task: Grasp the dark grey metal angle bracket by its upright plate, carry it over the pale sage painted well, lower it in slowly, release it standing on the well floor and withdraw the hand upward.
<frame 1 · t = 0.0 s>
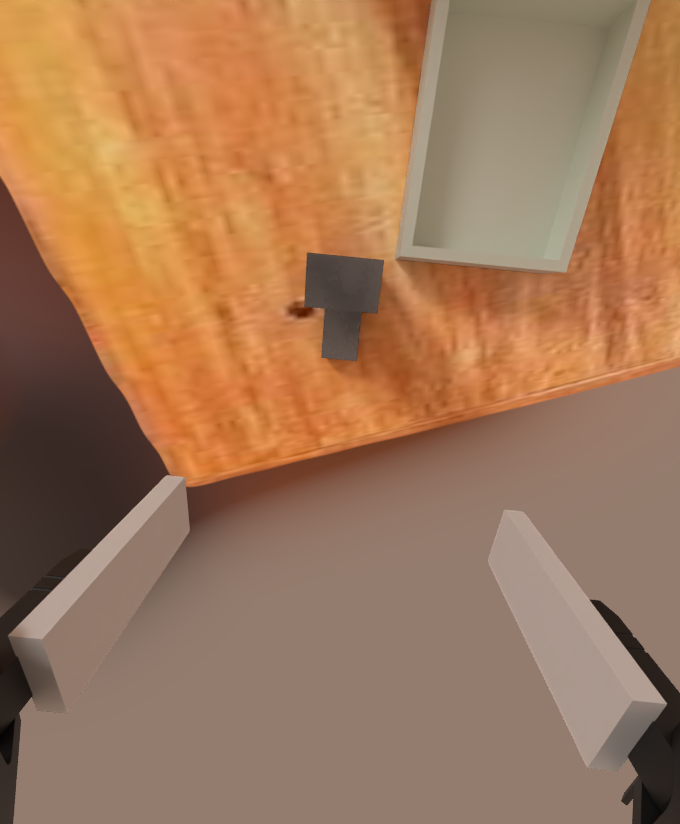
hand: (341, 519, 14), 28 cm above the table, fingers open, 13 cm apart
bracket: (346, 284, 37), on the table
well: (493, 153, 32), on the table
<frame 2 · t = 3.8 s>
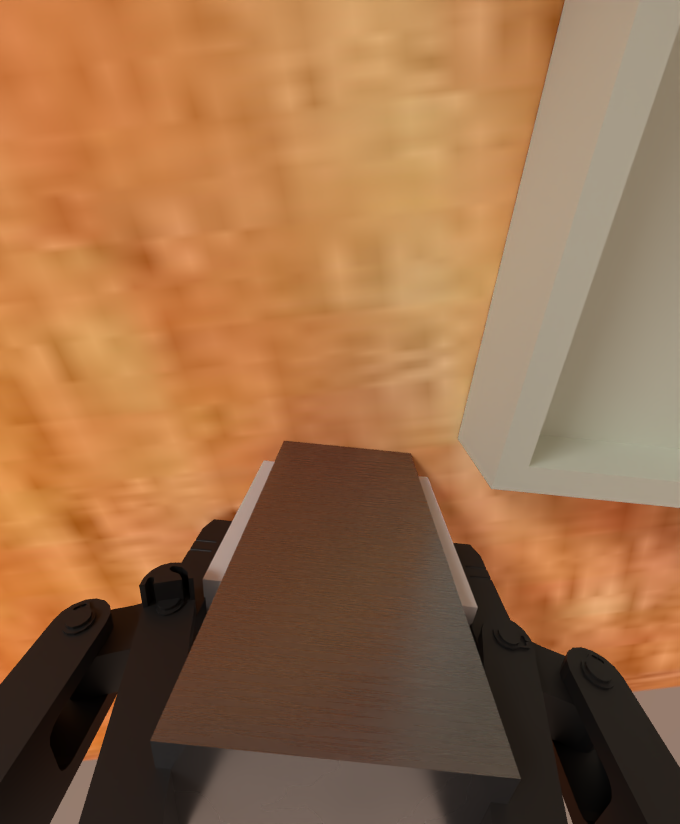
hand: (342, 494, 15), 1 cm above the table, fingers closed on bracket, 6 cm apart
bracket: (343, 483, 16), on the table, touching gripper
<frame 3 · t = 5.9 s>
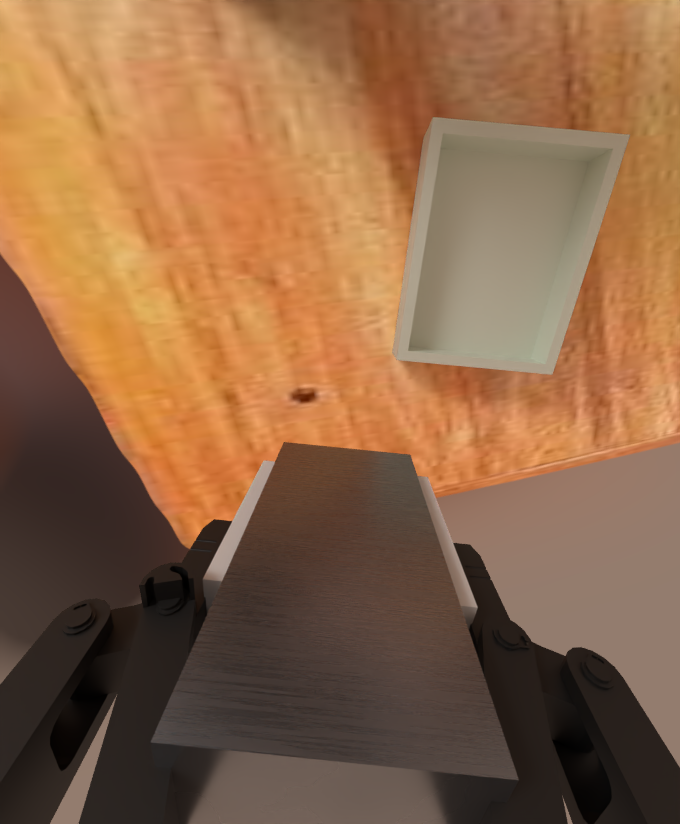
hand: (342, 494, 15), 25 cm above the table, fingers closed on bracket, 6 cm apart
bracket: (342, 484, 16), point 24 cm above the table, touching gripper
well: (483, 263, 34), on the table
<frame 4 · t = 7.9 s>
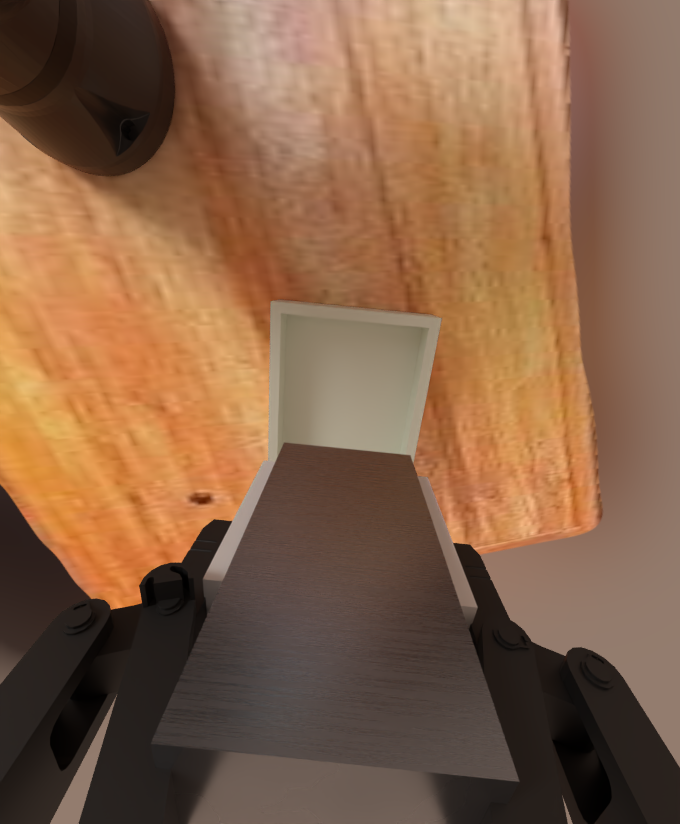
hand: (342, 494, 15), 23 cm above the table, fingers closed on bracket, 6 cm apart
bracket: (343, 484, 16), point 22 cm above the table, touching gripper
well: (346, 397, 38), on the table
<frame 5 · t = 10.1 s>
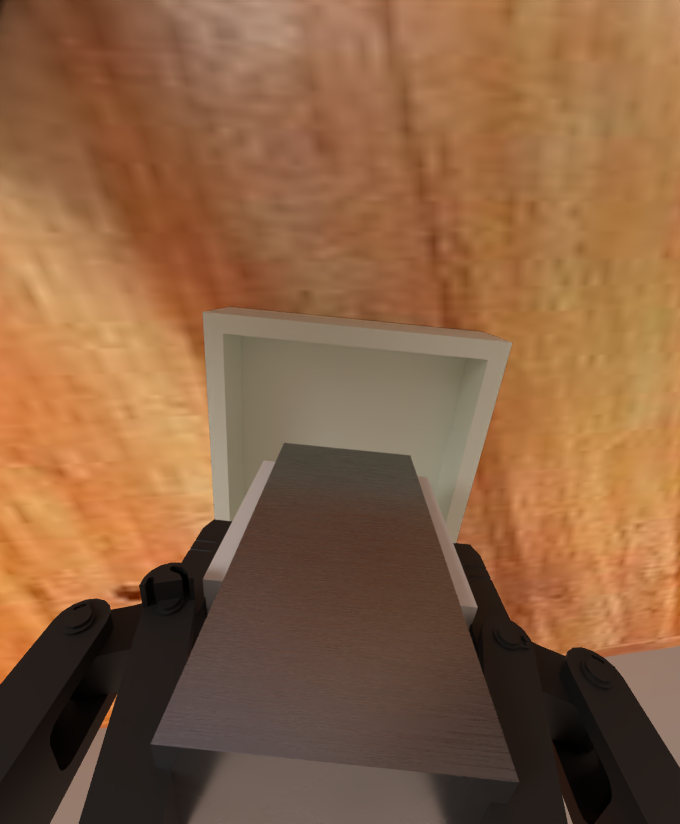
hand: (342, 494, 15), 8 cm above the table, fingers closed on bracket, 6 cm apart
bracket: (343, 484, 16), point 8 cm above the table, touching gripper
well: (341, 458, 24), on the table
when the fingers open (4 cm above the table, at t = 11.9 s): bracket drops 2 cm, resting on well.
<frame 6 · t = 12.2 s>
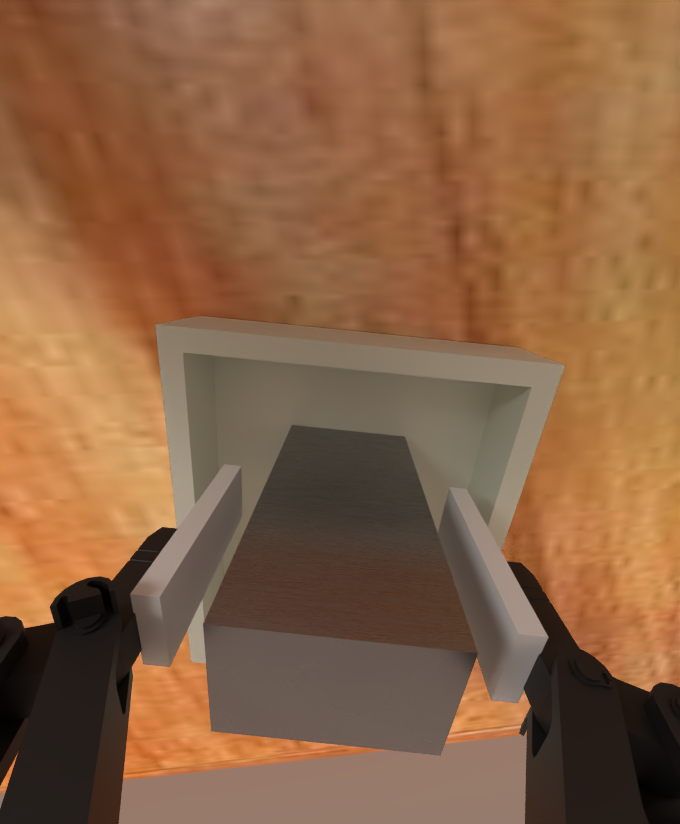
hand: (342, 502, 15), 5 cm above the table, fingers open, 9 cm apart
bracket: (344, 463, 18), point 1 cm above the table, touching well
well: (340, 497, 20), on the table
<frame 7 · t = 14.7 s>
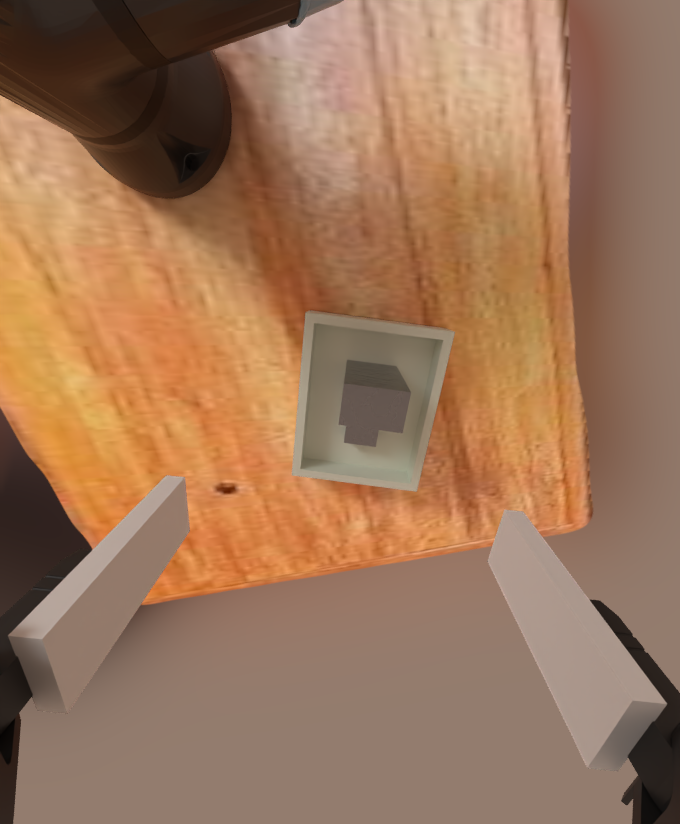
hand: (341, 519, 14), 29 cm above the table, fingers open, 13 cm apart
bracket: (369, 378, 40), point 1 cm above the table, touching well
well: (365, 399, 42), on the table
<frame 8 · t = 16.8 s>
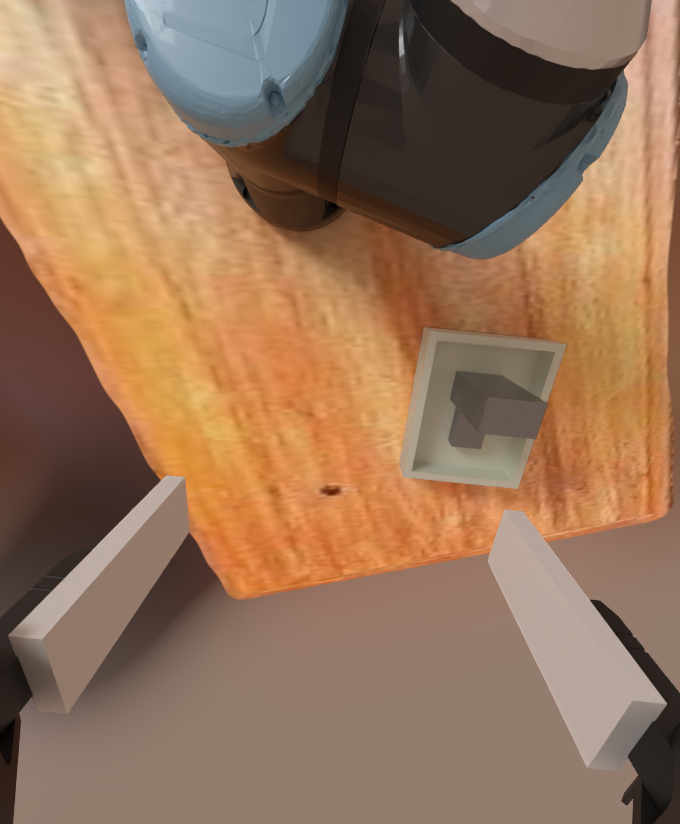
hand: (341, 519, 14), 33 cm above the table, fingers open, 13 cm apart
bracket: (475, 387, 44), point 1 cm above the table, touching well
well: (467, 405, 46), on the table
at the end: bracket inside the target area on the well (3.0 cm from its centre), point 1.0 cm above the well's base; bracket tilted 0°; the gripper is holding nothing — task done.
